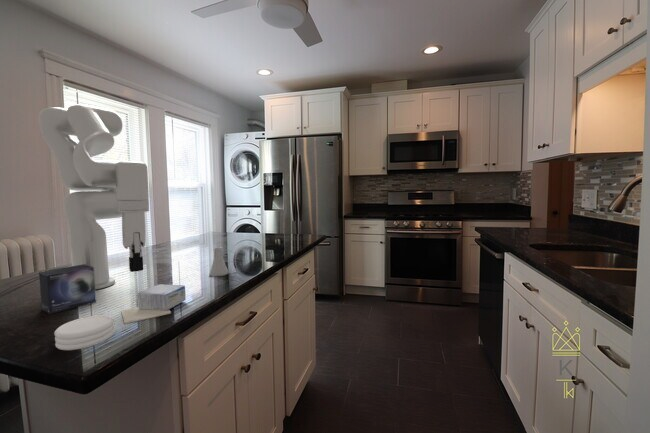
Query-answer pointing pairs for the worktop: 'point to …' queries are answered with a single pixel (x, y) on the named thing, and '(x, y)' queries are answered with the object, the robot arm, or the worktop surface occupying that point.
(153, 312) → the mat
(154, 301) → the medicine box
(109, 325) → the coaster
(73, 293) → the small box
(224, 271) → the flask
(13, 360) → the worktop surface
